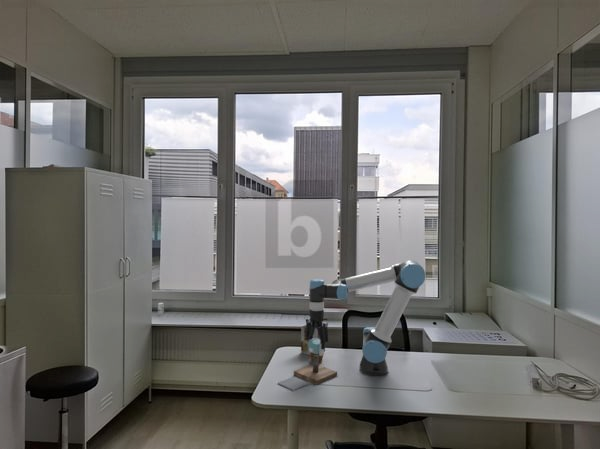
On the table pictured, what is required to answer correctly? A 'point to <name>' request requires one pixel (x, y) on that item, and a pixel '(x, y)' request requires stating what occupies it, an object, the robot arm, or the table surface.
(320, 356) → the disposable coffee cup
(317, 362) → the brown square board
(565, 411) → the table surface
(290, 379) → the mat
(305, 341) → the coffee box
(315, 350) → the teal matte cube
